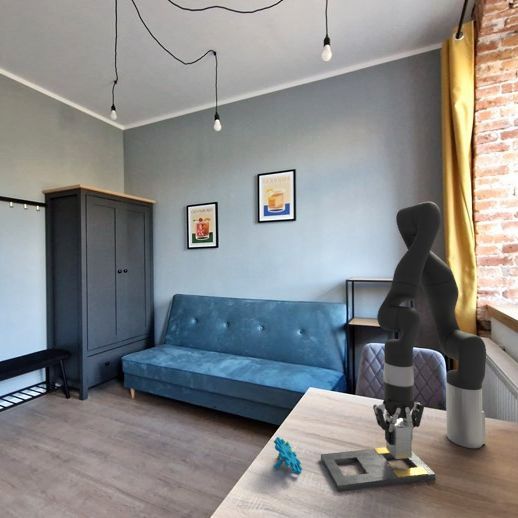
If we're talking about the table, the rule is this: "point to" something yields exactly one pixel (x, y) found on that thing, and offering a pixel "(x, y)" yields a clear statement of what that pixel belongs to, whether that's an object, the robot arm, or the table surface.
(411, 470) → the fixture plate
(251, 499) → the table surface
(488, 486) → the table surface
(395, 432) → the steel block
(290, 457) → the gear
